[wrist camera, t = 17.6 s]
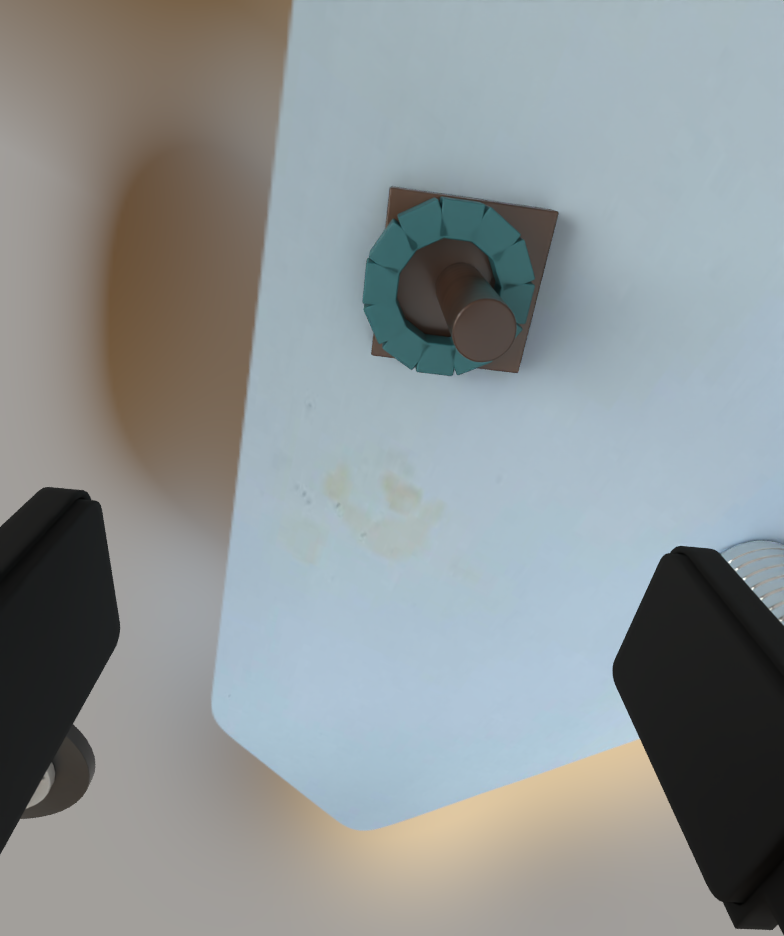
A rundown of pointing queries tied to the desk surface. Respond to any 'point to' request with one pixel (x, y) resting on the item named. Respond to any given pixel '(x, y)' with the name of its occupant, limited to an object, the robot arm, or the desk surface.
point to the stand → (468, 284)
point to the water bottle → (761, 571)
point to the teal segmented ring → (422, 230)
